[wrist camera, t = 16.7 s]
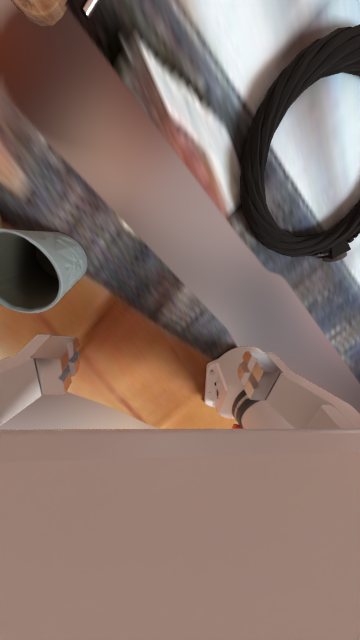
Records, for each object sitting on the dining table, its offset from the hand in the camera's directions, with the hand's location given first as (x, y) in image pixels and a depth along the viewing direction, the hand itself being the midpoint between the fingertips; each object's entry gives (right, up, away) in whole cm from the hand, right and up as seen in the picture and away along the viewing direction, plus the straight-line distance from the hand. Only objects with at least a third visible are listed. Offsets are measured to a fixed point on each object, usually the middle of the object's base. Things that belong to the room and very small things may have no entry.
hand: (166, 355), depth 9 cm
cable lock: (+24, +26, +23) cm, 42 cm away
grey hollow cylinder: (-20, +13, +24) cm, 34 cm away
